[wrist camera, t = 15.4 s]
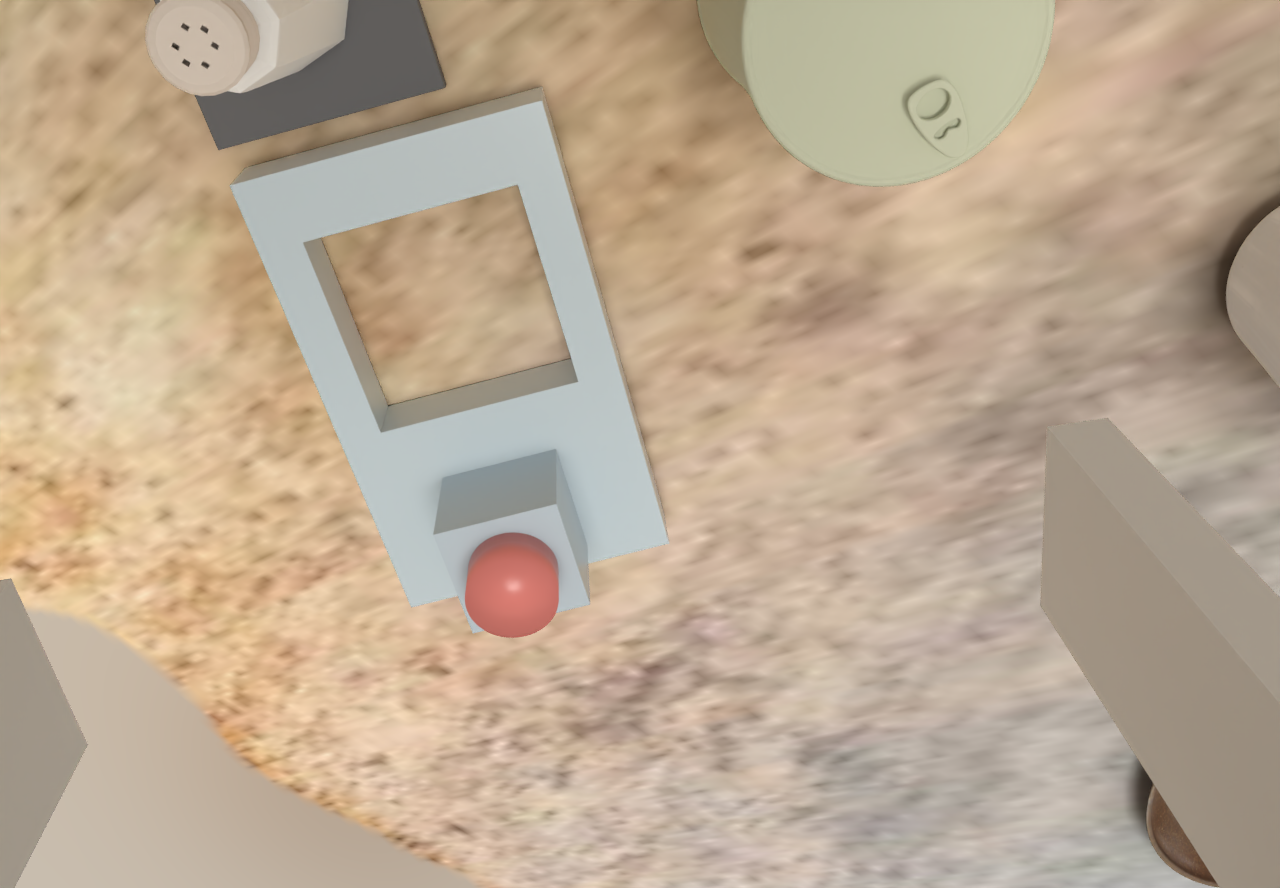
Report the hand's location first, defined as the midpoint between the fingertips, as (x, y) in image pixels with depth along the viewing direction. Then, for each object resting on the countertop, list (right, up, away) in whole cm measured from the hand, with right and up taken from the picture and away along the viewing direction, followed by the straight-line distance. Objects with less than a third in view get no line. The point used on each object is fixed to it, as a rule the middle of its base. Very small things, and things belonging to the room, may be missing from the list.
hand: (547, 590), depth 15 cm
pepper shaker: (-12, +18, +27) cm, 35 cm away
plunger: (-4, -3, +32) cm, 32 cm away
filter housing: (-6, +6, +35) cm, 36 cm away
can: (+8, +19, +29) cm, 35 cm away
